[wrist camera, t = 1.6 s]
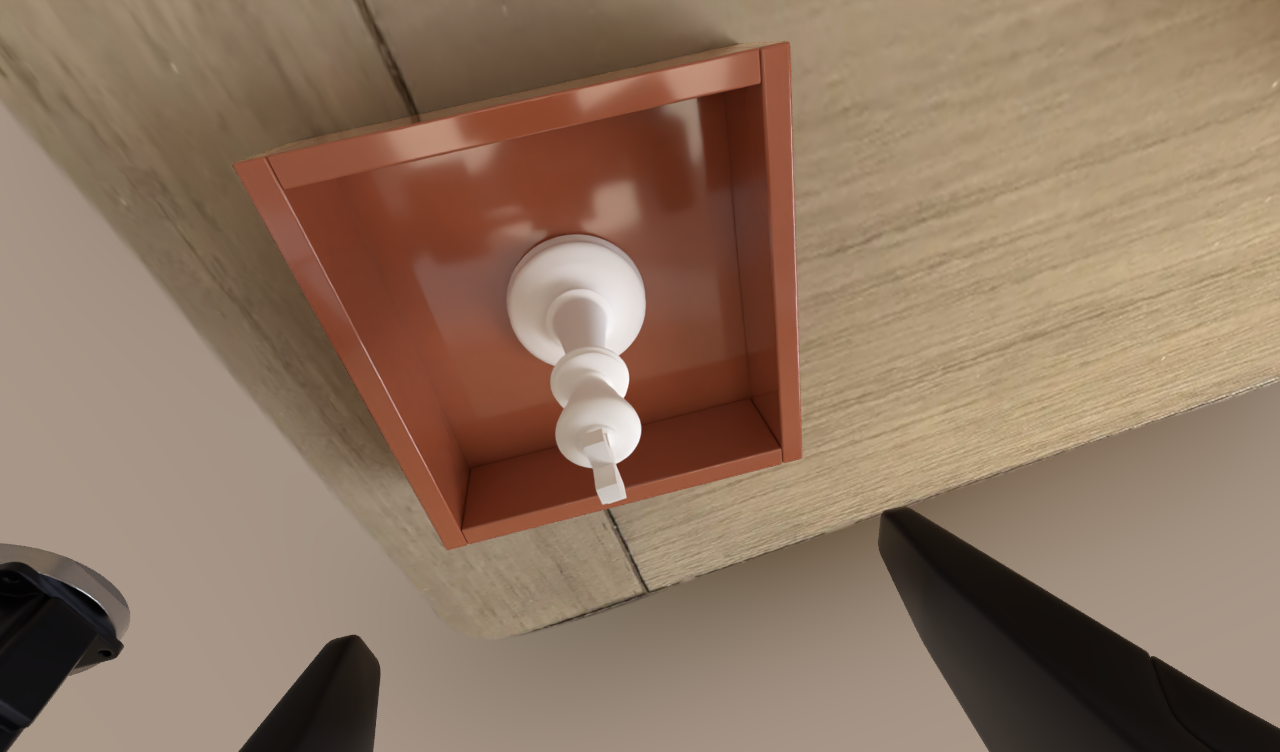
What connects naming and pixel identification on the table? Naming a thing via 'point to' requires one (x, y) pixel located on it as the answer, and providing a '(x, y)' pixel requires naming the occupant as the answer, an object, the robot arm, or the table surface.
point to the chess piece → (583, 345)
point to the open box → (527, 216)
